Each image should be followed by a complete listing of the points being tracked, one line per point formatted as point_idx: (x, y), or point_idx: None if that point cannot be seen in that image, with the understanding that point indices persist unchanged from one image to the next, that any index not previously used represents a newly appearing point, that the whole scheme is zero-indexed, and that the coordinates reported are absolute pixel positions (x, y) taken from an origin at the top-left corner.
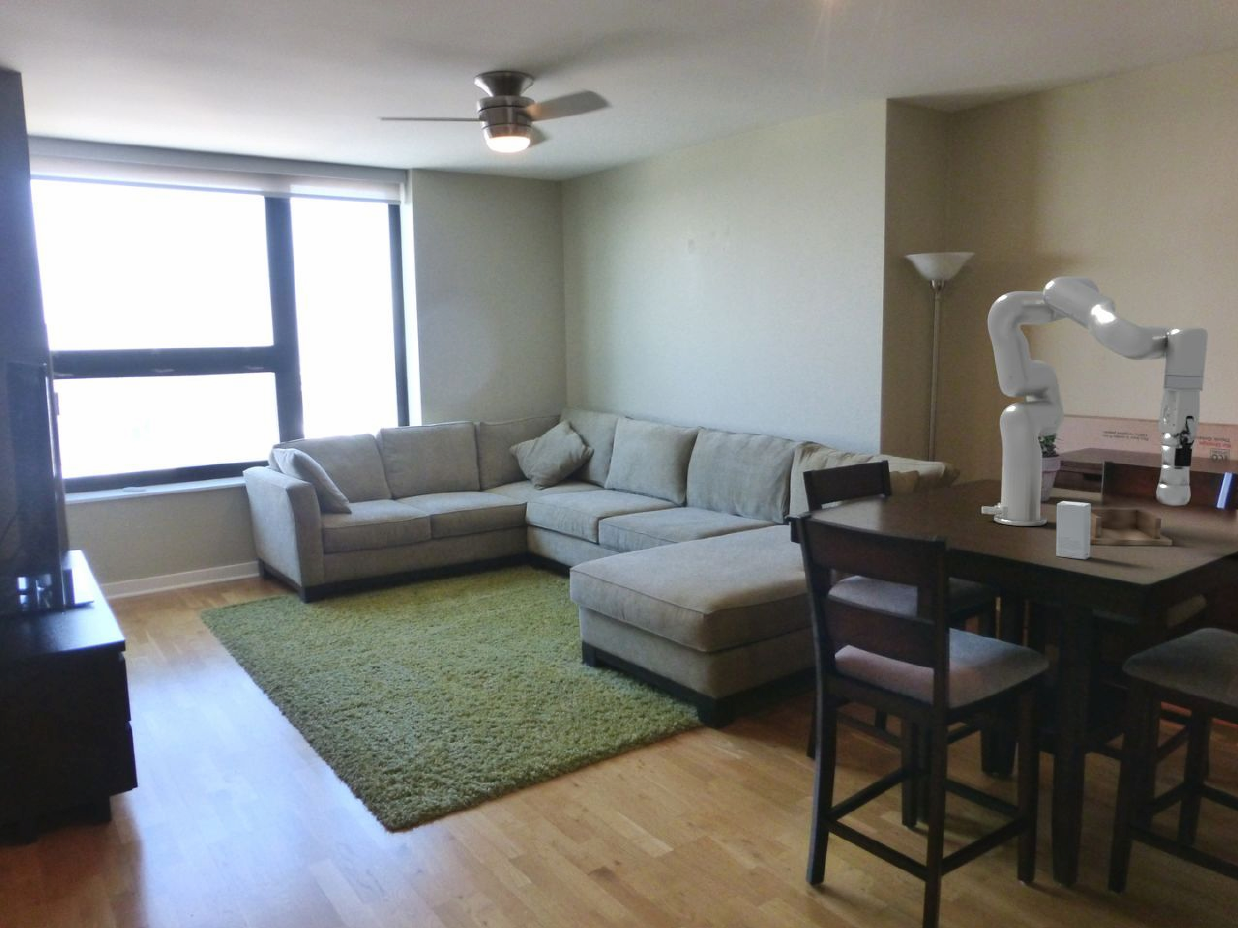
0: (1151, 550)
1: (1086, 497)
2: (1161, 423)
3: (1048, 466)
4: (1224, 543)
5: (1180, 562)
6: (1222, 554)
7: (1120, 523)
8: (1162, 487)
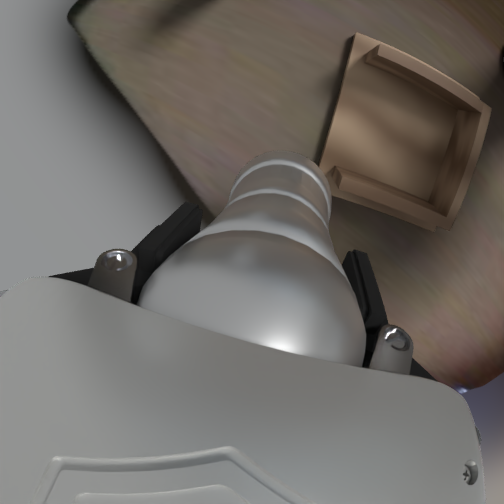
0: (279, 119)
1: None
2: (406, 459)
3: None
4: None
5: (175, 115)
6: None
7: (443, 176)
8: (269, 160)
